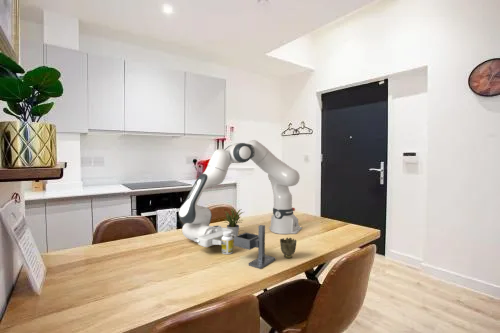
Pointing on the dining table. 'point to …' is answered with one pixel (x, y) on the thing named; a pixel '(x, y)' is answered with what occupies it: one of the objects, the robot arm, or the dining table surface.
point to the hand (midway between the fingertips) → (228, 240)
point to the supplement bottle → (227, 243)
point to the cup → (288, 247)
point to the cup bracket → (254, 241)
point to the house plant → (233, 221)
